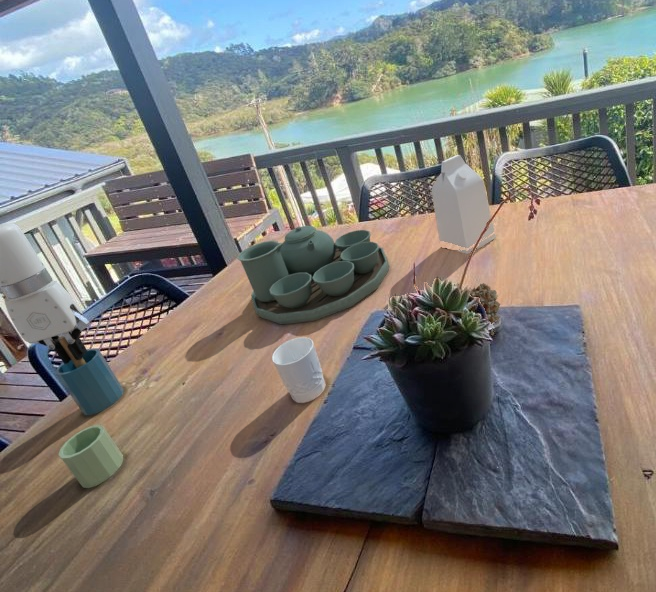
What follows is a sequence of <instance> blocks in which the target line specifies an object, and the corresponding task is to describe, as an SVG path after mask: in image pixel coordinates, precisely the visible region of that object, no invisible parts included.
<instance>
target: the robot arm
mask: <svg viewBox="0 0 656 592" xmlns="http://www.w3.org/2000/svg"><path fill="white" fill-rule="evenodd" d="M0 294H4V296H5V297H6V299H5V300H4V305H5V308H6V311H7V313H8V316H9V318H10V320H11V322H12V323H13V326H14V327H15V329H16V331H17V332H18V334H19V336H20V337H21V338H22V339H23V341H24V342H27V343H28V344H33V345H34V344H35V345H36V344H38V345H42V346H45V347H47V348H48V349H49V350H53V351H55V353H56V355H57V356H58V357H59V359H60V360H61V361H62V363H64V364H67V363H69V362H70V360H71V359H70V357H69V356H68V354H67V353H66V351H65V350H64V348H63V347H62V345H61V344H60V342H59V341H58V338H59V337H60V336H62V335H63V336H64V337H65V339H66V340H67V342H68V343H69V345H68V346H67V347H68V349H69V350H70V352H71V353H72V355H73V356H74V358H75V359H76V360H80V359H81V358H82V357H83V356H84V355H85V354H86V352H87V350H88V349H87V347H86V346H85V344H84V342H83V341H82V339H81V336H82V332H83V331H84V330H85V329H86V328H88V327H89V326H90V324H91V322H90V320H88V319H87V318H86V317H85V316H84V313H83V312H82V310H81V308H80V307H79V305H78V304H77V302H76V300H75V299H74V298H73V296H72V295H71V294H70V293H69V292H68V291H67V290H66V288H64V286H63V285H62V284H61V283H60V282H59V281H58V280H54V279H53V277H52V276H51V274H50V272H49V271H48V269H47V268H46V267H45V265H44V263H43V262H42V260H41V259H40V257H39V255H38V254H37V252H36V250H35V249H34V247H33V246H32V244H31V242H30V241H29V239H28V238H27V237H26V234H25V233H24V232H23V230H22V229H21V226H19V225H18V224H16V223H13V222H7V223H6V222H5V223H1V224H0Z"/></svg>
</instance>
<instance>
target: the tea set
mask: <svg viewBox="0 0 656 592" xmlns="http://www.w3.org/2000/svg"><path fill="white" fill-rule="evenodd" d="M236 259H237V260H238V261H240V263H241V266H242V269H243V271H244V272H245V275H246V277H247V279H248V282H249V284H250V286H251V288H252V293H251V294H250V297H251V301H252V305H253V308H254V311H255V313H256V315H257V316H258V317H259V318H262V319H265V320H267V321H270V322H272V323H276V324H279V325H288V324H296V323H298V324H299V323H306V322H307V323H308V322H313V321H314V322H315V321H318V320H321V319H323V318H326V317H329V316H332V315H334V314H336V313H339V312H341V311H345V310H347V309H350V308H352V307H353V306H354V305H356V304H358V303H359V302H361V301H362V300H363V299H365V298H366V297H368V296H369V295H370V294H371V293H373V292H375V291H376V290H377V289H379V287H380V285H381V284H382V282H383V280H384V278H385V277H386V276H387V274H388V272H389V270H390V263H389V261H388V257H387V256H386V253H385V250H384V248H383V247H381V246H380V245H379V243H378V242H375V241H371V232H370V231H369V230H366V229H356V230H353V231H349V232H347V233H345V234H342V235H340V236H339V237H338V238H336V239H335V241H334V239H333V238H332V236H331V235H330V234H329V233H327V232H326V231H323V230H319V229H316V227H315V226H313V225H303V226H296V227H295V228H294V229H292V230H289V232H287V233H286V234H285V236H284V241H283V242H280V241H278V240H267V241H261V242H259V243H256V244H253V245H251V246H249V247H246V248H244V250H242V251H241V252H240V253H238V255H237V258H236Z"/></svg>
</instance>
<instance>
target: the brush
mask: <svg viewBox="0 0 656 592" xmlns="http://www.w3.org/2000/svg"><path fill="white" fill-rule="evenodd" d="M58 341H59V342H60V344H61V345H62V347H63V348H64V350H65V351H66V353H67V354H68V356H69V357H70V359H71V360H72V362H73V363H74V365H75V366H76V368H79V367H81V366H83V365H85V364H86V362H85V360H84V359H83V357H82V358H81V359H80V360H76V359H75V358H74V356H73V355H72V353H71V352H70V350H69V349H68V347H67V346H68V345H69V343H68V342H67V340H66V339H65V337H64V336H63V334H61V335H60V337H59V338H58Z"/></svg>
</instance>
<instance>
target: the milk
mask: <svg viewBox="0 0 656 592" xmlns="http://www.w3.org/2000/svg"><path fill="white" fill-rule="evenodd" d="M440 169H441V170H440V174H439V175H438V177H437V178H436V179H435V181H434V182H433V184H432V186H431V198H432V203H433V210H434V216H435V222H436V228H437V233H438V239H439V240H440V241H444V242H448V243H452V244H455V245H458V246H461V247H465V248H469V247H470V246H472V245H473V244H475V243H476V241H477V240H478V238H479V236H480V234H481V232H482V230H483V229H484V228H485V226H486V223H487V222H488V221H489V219H490V218H491V217H492V214H491V209H490V204H489V201H488V195H487V190H486V187H485V184H484V180H483V178H482V177H481V175H480V174H479V173H478V172H476V171H475V170H474V169H473V168H471V166H469V165H468V163H466V161H465V160H464V158H463V157H462V155H461V154H456V155H453V156H452V157H451V156H450V158H447V159H444V160H443V161H441V167H440ZM493 232H495V234H493V235H492V236H490V237H489V238H487V239H485V238H486V237H488V236H489V235H490V234H492V233H493ZM484 237H485V238H484ZM483 238H484V239H485V240H484V241H482V240H483ZM496 238H497V235H496V231H495V227H494V222H493V221H492V222H491V224H490V226H489V228H488V230H487V231H486V233H485V234H484V236H483V237H482V240H481V242H480V243H479V246H478V247H477V249H476V250H479V249H481V248H482V247H484V246H485V245H487V244H489V243H490V242H492V241H494V240H496ZM440 241H439V242H440ZM472 249H473V247H472V248H471V249H469V250H468V251H466V250H462V251H461V250H460V249H459V250H460V251H457V252H458V253H462V254H465V255H468V254H470V253H472V252H473V251H472ZM471 251H472V252H471ZM469 252H470V253H469Z"/></svg>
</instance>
